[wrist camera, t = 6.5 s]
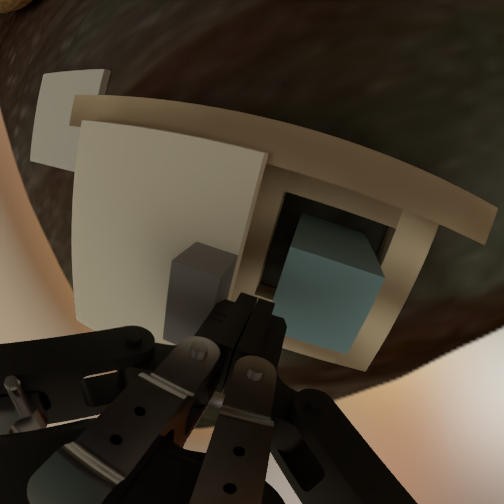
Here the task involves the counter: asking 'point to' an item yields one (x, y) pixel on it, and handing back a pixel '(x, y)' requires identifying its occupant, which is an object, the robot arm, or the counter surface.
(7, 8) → the potato
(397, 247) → the puzzle board
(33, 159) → the mat
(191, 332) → the cover
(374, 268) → the block
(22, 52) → the counter surface
